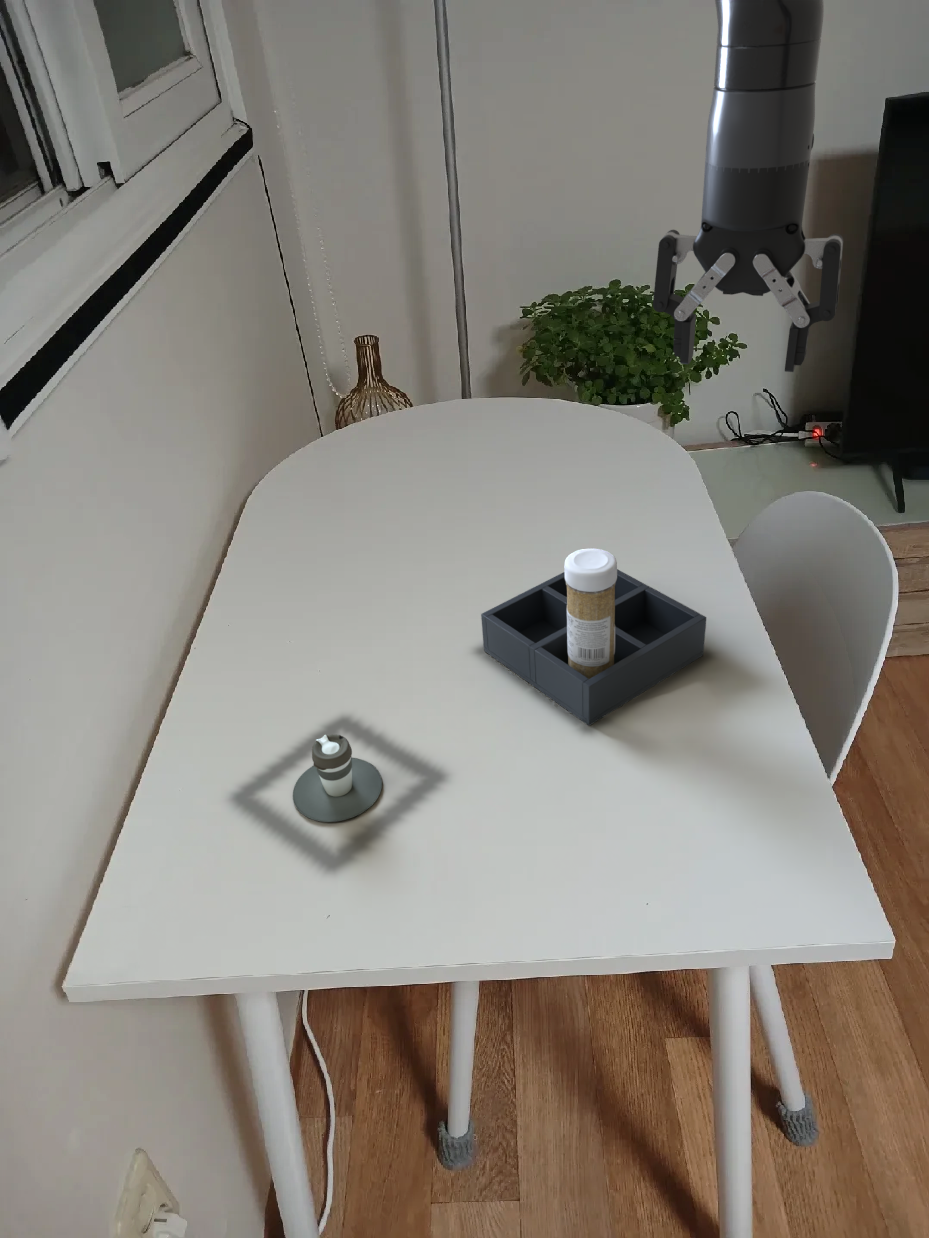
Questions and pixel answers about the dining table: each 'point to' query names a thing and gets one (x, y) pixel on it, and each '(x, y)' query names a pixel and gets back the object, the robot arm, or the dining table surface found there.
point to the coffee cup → (336, 782)
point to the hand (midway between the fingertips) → (737, 365)
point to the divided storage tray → (644, 644)
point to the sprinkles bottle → (590, 610)
